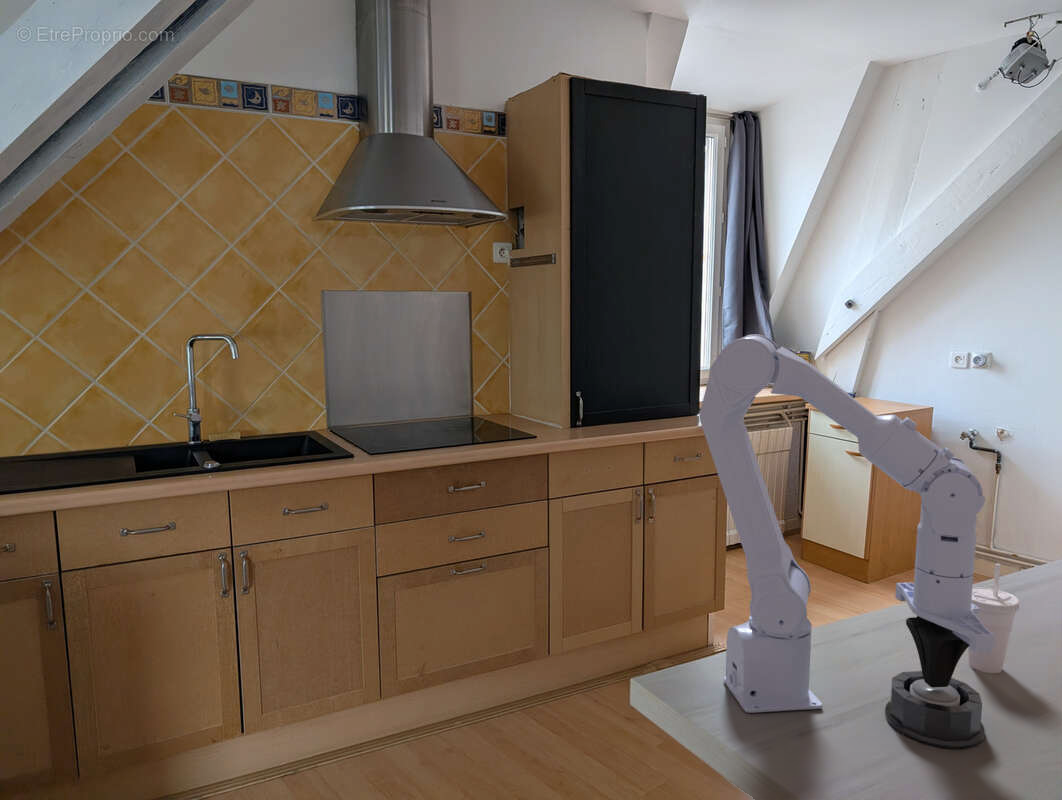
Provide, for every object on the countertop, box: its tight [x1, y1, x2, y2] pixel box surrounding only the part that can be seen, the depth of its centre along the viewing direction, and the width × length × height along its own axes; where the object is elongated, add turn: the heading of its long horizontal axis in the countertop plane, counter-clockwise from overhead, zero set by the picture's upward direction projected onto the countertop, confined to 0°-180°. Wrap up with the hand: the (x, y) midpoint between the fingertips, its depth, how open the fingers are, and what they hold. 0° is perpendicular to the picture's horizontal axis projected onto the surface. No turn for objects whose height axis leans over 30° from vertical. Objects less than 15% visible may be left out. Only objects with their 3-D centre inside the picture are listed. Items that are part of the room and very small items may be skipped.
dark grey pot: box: [884, 670, 986, 750], centre depth 86 cm, size 10×10×4 cm
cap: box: [910, 679, 960, 706], centre depth 86 cm, size 5×5×4 cm
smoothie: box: [967, 563, 1020, 674], centre depth 99 cm, size 6×6×14 cm
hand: (936, 684), depth 86 cm, fingers closed
